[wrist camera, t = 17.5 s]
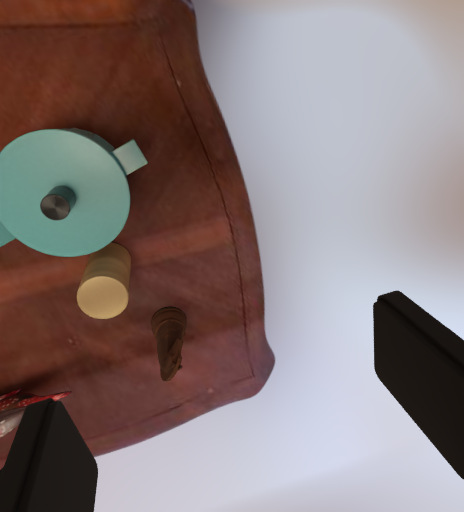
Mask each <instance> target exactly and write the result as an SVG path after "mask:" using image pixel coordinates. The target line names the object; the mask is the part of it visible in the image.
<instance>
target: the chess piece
mask: <svg viewBox="0 0 464 512" xmlns="http://www.w3.org/2000/svg"><path fill="white" fill-rule="evenodd" d="M151 325H152V330H153V333H154V335H155V337H156V339H157V350H158V358H159V363H160V366H161V369H160V371H161V378H162V380H163V381H167V382H168V381H170V380H171V379H172V378H173V377H174V375H175V374H176V372H177V371H178V370H180V369H181V368H182V367H183V366H181V365H180V363H181V360H182V357H181V348H182V344H183V340H182V338H183V337H184V335H185V330H186V317H185V315H184V313H183V312H182V311H181V310H179V309H177V308H173V307H167V308H163V309H161V310H159V311H158V312H156V313H155V315H154V316H153V318H152V322H151Z"/></svg>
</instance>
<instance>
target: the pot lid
mask: <svg viewBox="0 0 464 512" xmlns="http://www.w3.org/2000/svg"><path fill="white" fill-rule="evenodd" d="M129 209H130V191H129V186H128V182H127V179H126V177H125V174H124V172H123V170H122V168H121V167H120V165H119V164H118V162H117V161H116V160H115V158H114V157H113V156H112V155H111V154H110V153H109V152H108V151H107V150H106V149H105V148H104V147H102V146H101V145H100V144H98V143H97V142H95V141H94V140H92V139H90V138H88V137H86V136H84V135H81V134H78V133H76V132H72V131H67V130H61V129H43V130H37V131H33V132H30V133H27V134H24V135H22V136H20V137H18V138H16V139H15V140H13V141H12V142H10V143H9V144H8V145H7V146H6V147H5V148H4V149H3V150H2V151H1V152H0V221H1V222H2V224H3V225H4V226H5V228H6V229H7V230H8V231H9V232H10V233H11V234H12V235H13V236H14V237H16V238H17V239H18V240H19V241H21V242H22V243H24V244H25V245H27V246H29V247H31V248H33V249H35V250H37V251H40V252H43V253H45V254H50V255H54V256H62V257H74V256H82V255H86V254H90V253H93V252H95V251H97V250H99V249H102V248H103V247H105V246H106V245H108V244H109V243H110V242H111V241H113V240H114V239H115V238H116V237H117V235H118V234H119V233H120V232H121V230H122V228H123V227H124V225H125V223H126V220H127V217H128V214H129Z"/></svg>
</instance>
